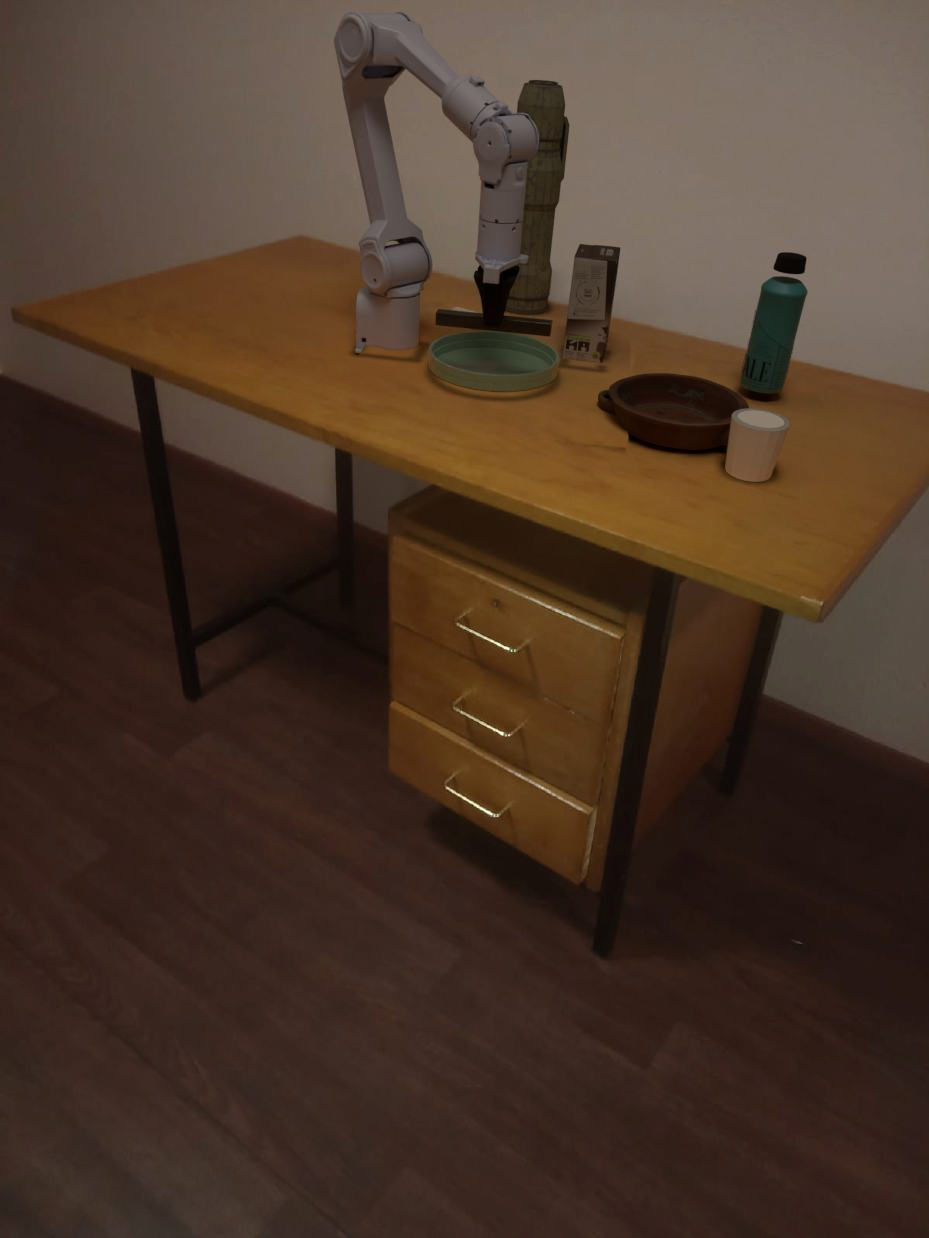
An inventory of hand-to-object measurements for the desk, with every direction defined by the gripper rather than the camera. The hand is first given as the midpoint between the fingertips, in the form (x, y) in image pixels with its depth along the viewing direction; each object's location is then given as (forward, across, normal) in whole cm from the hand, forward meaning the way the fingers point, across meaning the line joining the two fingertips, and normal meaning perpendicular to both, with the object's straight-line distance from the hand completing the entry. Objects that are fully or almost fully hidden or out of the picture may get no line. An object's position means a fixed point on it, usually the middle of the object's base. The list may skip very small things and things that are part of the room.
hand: (493, 323), depth 131 cm
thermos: (+9, +40, -1) cm, 41 cm away
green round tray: (+9, +4, 0) cm, 10 cm away
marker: (+9, +26, +5) cm, 28 cm away
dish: (+9, -9, -26) cm, 29 cm away
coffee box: (+9, +16, -13) cm, 23 cm away
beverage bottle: (+9, +8, -39) cm, 41 cm away
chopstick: (+1, 0, 0) cm, 1 cm away
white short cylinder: (+9, -19, -35) cm, 41 cm away
